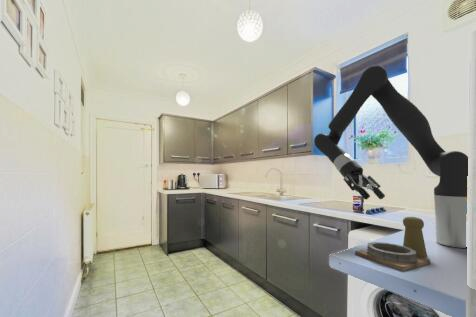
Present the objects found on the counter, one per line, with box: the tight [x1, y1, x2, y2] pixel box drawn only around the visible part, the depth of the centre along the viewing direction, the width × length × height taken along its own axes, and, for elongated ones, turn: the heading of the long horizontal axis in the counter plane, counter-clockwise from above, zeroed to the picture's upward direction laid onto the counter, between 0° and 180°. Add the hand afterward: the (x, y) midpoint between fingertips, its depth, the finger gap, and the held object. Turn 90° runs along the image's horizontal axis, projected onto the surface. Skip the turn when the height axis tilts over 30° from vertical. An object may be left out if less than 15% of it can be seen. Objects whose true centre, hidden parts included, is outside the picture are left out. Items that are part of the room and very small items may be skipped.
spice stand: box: [354, 241, 431, 272], centre depth 65 cm, size 13×13×3 cm
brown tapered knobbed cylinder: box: [402, 216, 428, 258], centre depth 70 cm, size 6×6×11 cm
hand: (375, 197), depth 82 cm, fingers open, 8 cm apart
